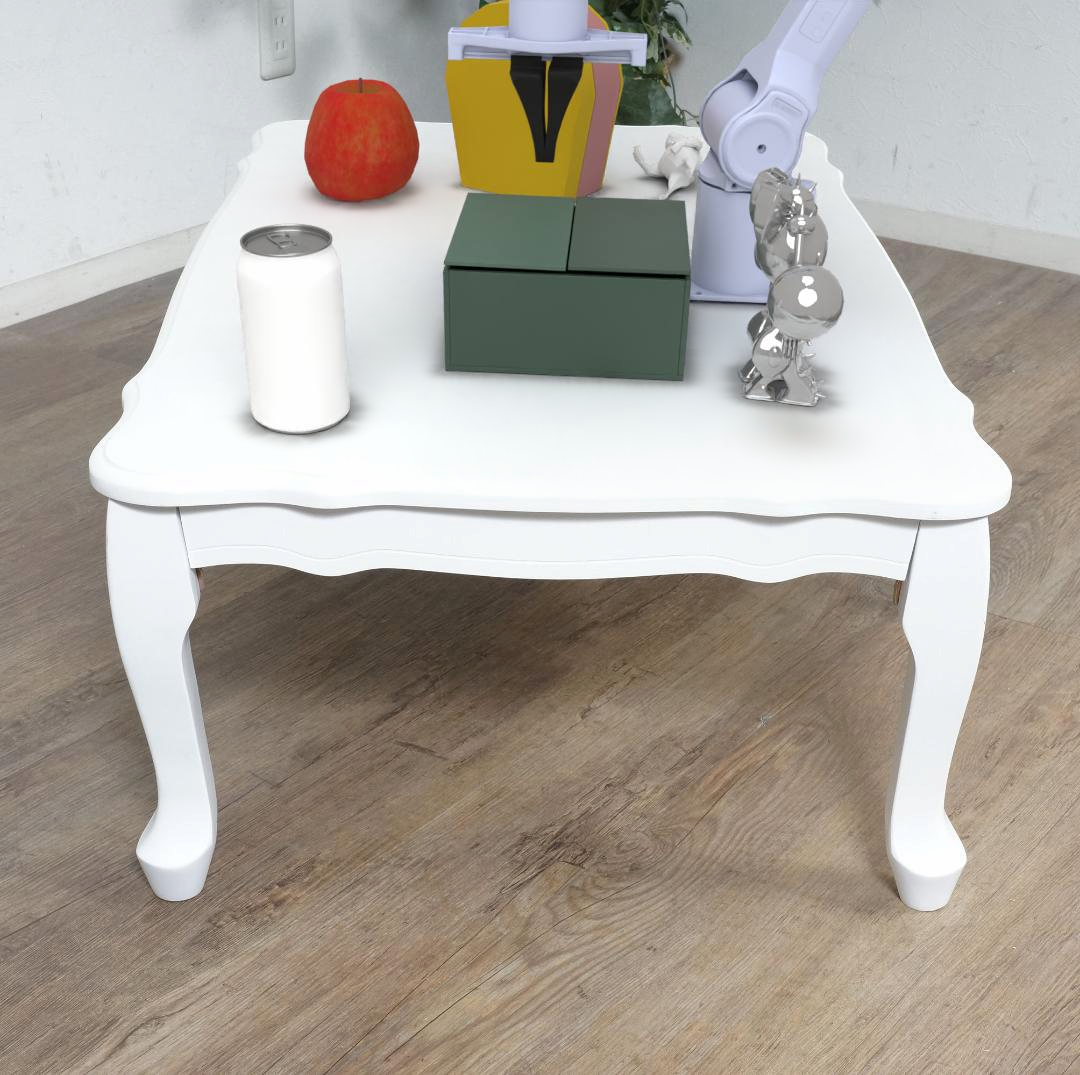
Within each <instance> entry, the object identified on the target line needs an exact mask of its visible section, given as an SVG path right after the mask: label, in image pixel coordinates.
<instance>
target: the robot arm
mask: <svg viewBox="0 0 1080 1075" xmlns="http://www.w3.org/2000/svg"><path fill="white" fill-rule="evenodd" d="M873 1H874V0H789V1H788V2H787V4H786V5H785V7H784V9H783V10H782V11H781V13H780V15H779V17H778V18H777V20H776V22H775V23H774V25H773V26H772V28H771V30H770V31H769V33H768V35H767V36H766V37H765V38H764V40H762V41H761V42H759V44H757V45H756V46H754V47H753V48H752V49H751V50H749V51H748V52H747V53H746V54H745V55H744V56H743V58H742V59H741V61H740V62H739V64H738V65H737V67H736V68H735V69H734V71H733V72H732V73H730V74H729V76H727V77H725V78H724V79H723V80H721V81H720V82H718V83H717V84H715V85H714V86H713V87H712V88H710V90H709V92H708V93H707V94H706V95H705V98H704V99H703V100H702V103H701V106H700V109H699V110H700V111H699V115H698V125H699V130H700V133H701V135H702V138H703V140H704V141H705V142H706V145H708V147H709V150H708V152H707V154H706V156H705V158H704V159H703V162H702V164H701V165H700V167H699V171H698V174H697V175H698V176H697V184H696V196H695V197H696V198H695V208H694V209H695V210H694V222H693V232H692V245H691V246H692V247H691V255H690V265H691V292H690V301H706V302H707V301H709V302H710V301H711V302H732V303H753V304H754V303H757V304H758V303H759V304H767V297H768V291H769V285H770V280H769V279H768V278H767V277H766V276H765V275H764V273H763V271H762V270H760V269H759V268H758V267H757V265H756V263H755V259H754V246H755V242H756V237H755V232H754V225H753V223H752V221H751V217H750V212H749V203H750V196H751V191H752V186H753V183H754V181H755V180H756V178H757V176H758V174H759V173H760V172H761V171H763V170H766V169H769V168H773V167H777V168H779V169H780V170H781V171H783V172H784V173H786V174H787V175H789V177H788V182H789V183H790V184H792V185H793V186H794V185H795V183H797V179H798V177H793V175H792V174H793V171H794V169H795V168H796V166H797V164H798V162H799V160H800V158H801V154H802V152H803V151H802V150H803V144H804V138H805V134H806V130H807V129H808V127H809V125H810V123H811V122H812V120H813V118H814V117H815V115H816V114H817V111H818V108H819V102H820V96H821V89H822V84H823V79H824V77H825V75H826V73H827V72H828V71H829V69H830V67H831V65H833V63H834V61H835V60H836V58H837V57H838V55H839V54H840V52H841V51H842V49H843V47H844V46H845V45H846V43H847V41H848V39H849V38H850V37H851V35H852V33H853V31H854V30H855V29H856V27H857V25H858V24H859V23H860V21H861V19H862V18H863V16H864V15H865V13H866V12H867V10H868V9H869V8H870V6H871V4H872V3H873ZM588 4H589V0H509V26H498V27H473V28H460V27H453V26H451V27H450V29H449V30H448V32H447V59H449V60H463V59H464V58H471V59H501V60H511V65H510V72H509V73H510V77H511V80H512V83H513V85H514V87H515V89H516V91H517V94H518V96H519V98H520V101H521V103H522V105H523V108H524V111H525V114H526V117H527V120H528V123H529V126H530V130H531V134H532V139H533V144H534V150H535V162H545V163H553V162H554V159H555V150H556V142H557V138H558V134H559V131H560V127H561V124H562V121H563V118H564V116H565V113H566V110H567V108H568V105H569V103H570V101H571V98H572V96H573V94H574V92H575V90H576V88H577V86H578V84H579V81H580V79H581V77H582V72H583V65H584V62H590V63H619V64H621V65H622V64H624V65H630V66H631V67H640V68H641V67H643V68H644V67H646V65H647V53H648V52H647V50H648V34H647V33H637V32H624V31H615V30H614V31H613V30H610V31H607V30H598V29H589V28H587V17H588ZM547 61H551V62H550V66H549V69H548V121H547V132H546V121H545V91H546V65H547ZM815 183H816V182H815V181H814V180H811V179H803V178H801V186H804V187H806V188H808V189H809V188H810V187H812V186H813V185H814V184H815ZM812 194H813V195H814V201H815V204H816V205H817V187H815V188H814V190H813V192H812Z"/></svg>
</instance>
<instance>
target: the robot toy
mask: <svg viewBox="0 0 1080 1075" xmlns="http://www.w3.org/2000/svg"><path fill="white" fill-rule="evenodd" d="M788 177H789V175H787V174H786V173H784V172H783V171H781V170H780V169H779V168H777V167H773V168H769V169H766V170H763V171H761V172H760V173H759V174H758V176H757V178H756V180H755V181H754V183H753V186H752V191H751V196H750V203H749V212H750V217H751V221H752V223H753V225H754V232H755V237H756V242H755V246H754V259H755V263H756V265H757V267H758V268H759V269H760V270H762V271H763V273H764V275H765V276H766V277H767V278H768V279H769V280H770V285H769V291H768V297H767V303H766V308H765V309H762V310H760V311H758V312H757V313H755V314H754V315H753V316H752V317H751V318H750V320H749V321H748V323H747V326H746V336H747V339H748V342H749V344H750V345H751V347H752V349H751V358H750V359H749V360H747V362H746V363H745V364H744V365H743V366H742V367H739V368H738V369H737V373H738V375H739V377H740V380H741V381H742V382H745V383H744V384H743V385H742V386H741V389H742V397H743V398H745V399H748V400H756V401H764V402H777V403H781V404H789V405H795V406H803V407H815V406H816V405H817V403H818V401H819V399H826V398H827V396H826V395H824V394H822V392H821V391H818V387H819V386H820V385H821V384H823V383H824V382H825V381H824V380H821V379H819V380H816V376H815V375H814V374H813V373H812V371H816V370H819V368H818V367H815V366H812V365H810V362H809V361H810V360H811V359H813V358H814V357H815V356H816V354H817V353H815V352H814V353H810V354H806V355H805V354H804V353H803V349H804V346H805V344H806V345H807V346H811V345H812V341H811V340H816V339H817V340H818V339H819V338H820V337H822V336H825V335H827V334H828V333H829V332H831V331H832V329H833V328H834V327H835V326H836V325H837V324H838V321H839V320H840V318H841V316H842V315H843V311H844V303H845V299H844V290H843V287H842V285H841V283H840V282H839V280H838V278H837V277H836V276H835V275H834V274H833V273H832V272H831V271H830V270H828V269H827V268H824V267H823V266H824V264H825V262H826V258H827V255H828V254H827V253H828V245H829V244H828V240H829V233H828V230H827V227H826V225H825V222H824V221H823V219H822V218H821V216H820V215H819V214H818V210H819V207H818V205H817V203H816V204H815V201H814V195H813V194H812V192H813V190H814V188H815V187H816V186H817V185H818V181H816V182H814V183H815V184H814V185H813V186H812V187H810V188H809V189H808V188H806V187H804V186H801V179H802V177H801V172H800V171H799V173H798V175H797V183H795V185H794V186H793V185H792V184H790V183H789V182H788ZM816 188H817V187H816ZM802 341H803V342H802ZM777 380H779V381H784V383H785V385H786V387H785V388H781V390H780V391H779V393H778V395H777V396H776V394H775V393H776V392H775V388H774V387H773V386H769V385H770V383H772V382H774V381H777Z"/></svg>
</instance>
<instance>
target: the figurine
mask: <svg viewBox="0 0 1080 1075" xmlns="http://www.w3.org/2000/svg"><path fill="white" fill-rule="evenodd" d="M703 144H704V143H703V141H701V139H700V138H699V137H697V136H695V135H691V136H687V137H686V136H685V135H684V134H682V133H678V132H674V131H672V132H671V133H669V134H668V135H667V138H666V140H665V144H664V148H665V150H664V151H663V153H662V154H661V156H660V158H659V159H658V162H656V163H654V164H650V165H649V163H647V162H646V160H645V158H644V156H643V150H642V148H641V145H636V146H633V152H632V156H633V159H634V161H635V162H636V163H637V164H638V165H639V167H640V168H641V169H642V171H643V173H644V174H645V175H648V176H650V177H654V178H666V180H667V181H668V184H667V185H668V191H667V192H666V194H658V200H666V199H668V197H669V196H670V195H671V194H672V193H673V192H675V191H676V190H678V189H685V188H687V187H688V186H690V185H691V184H692V183H693V182H694V181H695V180H696V179H695V175H698V171H699V167H700V165H701V164H702V162H703V161H704V159H703V158H702V155H701V152H700V151H701V149H702V148H703Z"/></svg>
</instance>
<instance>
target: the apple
mask: <svg viewBox="0 0 1080 1075" xmlns="http://www.w3.org/2000/svg"><path fill="white" fill-rule="evenodd" d="M420 147H421V144H420V139H419V133H418V128H417V127H416V124H415V121H414V118H413V115H412V114H411V111H410V109H409V107H408V104H407V103H406V101H405V100H404V99H403V97H402V96H401V94H400V93H399V91H397V89H396V88H395V87H393V86H392V85H391V84H389V83H387V82H385V81H383V80H378V79H371V78H370V79H367V78H366V79H363V78H362V77H359V78H358V79H347V80H343V81H341V82H337V83H333V84H331V85H329V86H328V87H326V88H324V90H322V91H321V92H320V94H319V96H318V98H317V99H316V102H315V104H314V106H313V109H312V112H311V115H310V119H309V122H308V125H307V129H306V134H305V139H304V150H303V151H304V153H303V156H304V157H303V159H304V163H305V166H306V171H307V173H308V175H309V178H310V179H311V181H312V183H313V184H314V186H315V188H316V190H318V192H319V193H320V194H321V195H322V196H325V197H327V198H330V199H333V200H334V201H335V200H336V201H340V202H343V203H360V202H367V201H368V202H369V201H373V200H379V199H383V198H385V197H387V196H388V197H389V196H390V195H393V194H395V193H397V192H398V191H400V190H401V189H403V188H404V187H405V186H407V184H408V183H409V181H410V180H411V179H412V177H413V174H414V171H415V168H416V166H417V164H418V161H419V157H420Z"/></svg>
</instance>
